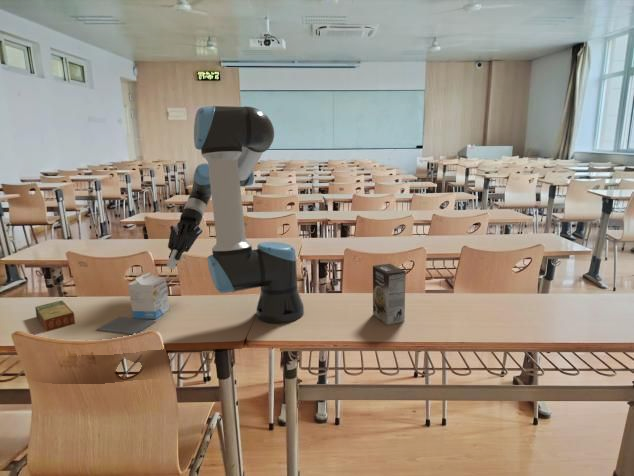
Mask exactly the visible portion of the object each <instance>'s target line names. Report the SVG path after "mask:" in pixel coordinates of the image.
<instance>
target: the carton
mask: <svg viewBox="0 0 634 476" xmlns="http://www.w3.org/2000/svg"><path fill="white" fill-rule="evenodd" d="M34 309H35V314H36V315H35V316H36V318H37V320H38V321H39V322H40V324H41V326H42V327H43V328H44V330H45V331H46V332H49V331H52V330H56V329H57V330H58V329H61V328H64V327H68V326H72V325H75V324H76V321H75V319H76V317H75V312H74V311H73V310H72V309H71V308H70V307H69V306H68V305H67V304H66V302H64V301H63V300H57V301H54V302H49V303H45V304H40V305H37V306H35V308H34Z"/></svg>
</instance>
